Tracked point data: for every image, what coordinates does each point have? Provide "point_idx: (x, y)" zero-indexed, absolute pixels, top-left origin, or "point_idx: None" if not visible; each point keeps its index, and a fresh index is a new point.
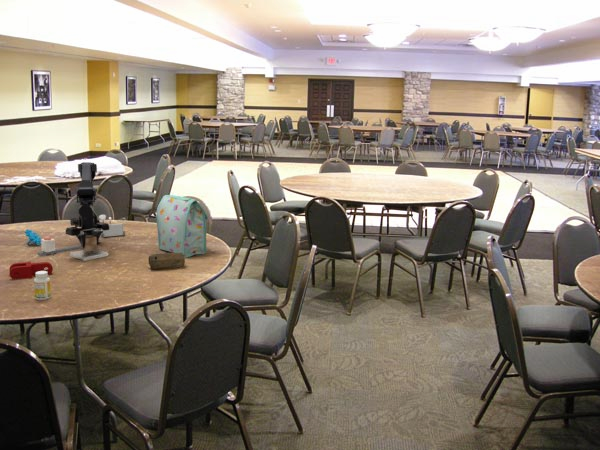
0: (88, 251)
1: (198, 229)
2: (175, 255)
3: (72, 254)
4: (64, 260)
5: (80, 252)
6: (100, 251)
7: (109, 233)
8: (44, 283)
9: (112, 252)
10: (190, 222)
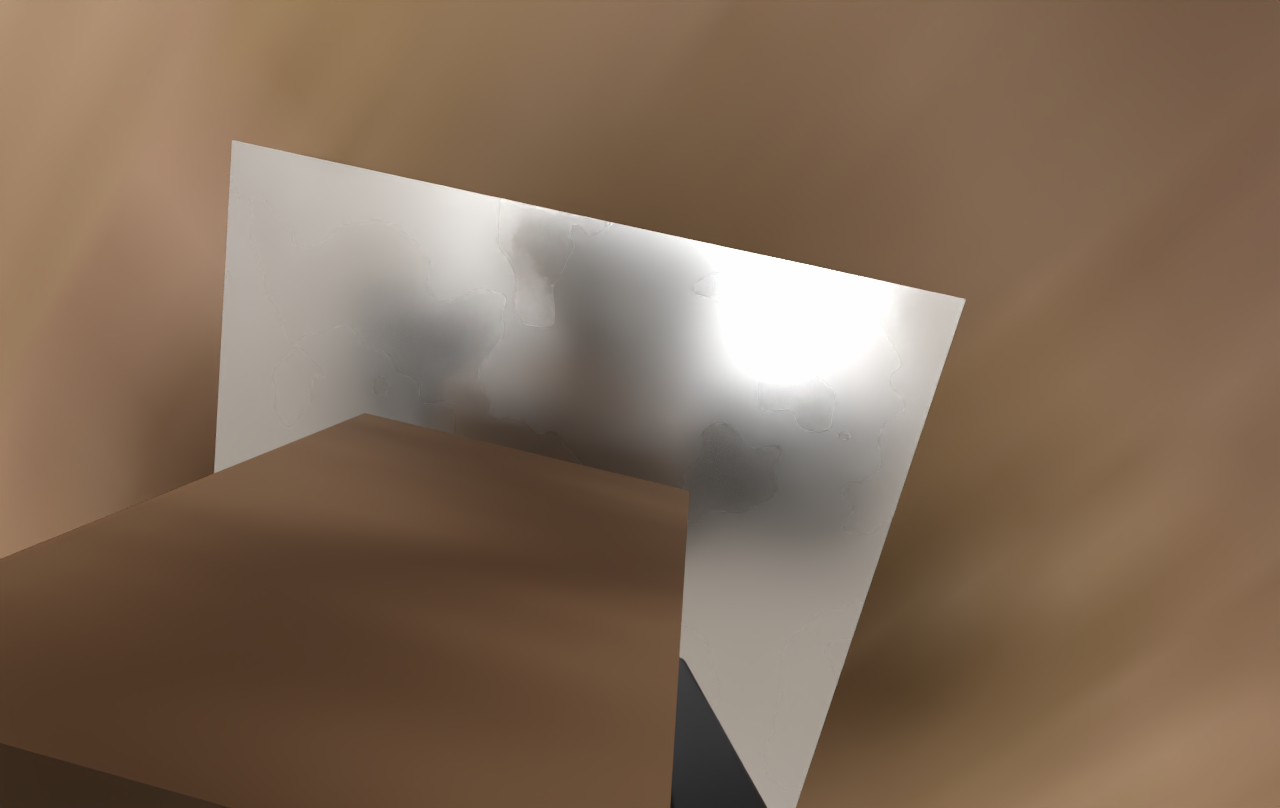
0: (593, 461)
1: None
2: None
3: (245, 270)
4: (26, 364)
5: (409, 365)
6: (757, 700)
7: None
8: None
9: (1038, 731)
10: None
